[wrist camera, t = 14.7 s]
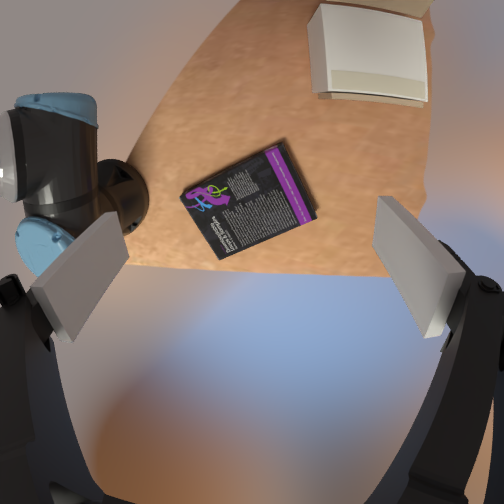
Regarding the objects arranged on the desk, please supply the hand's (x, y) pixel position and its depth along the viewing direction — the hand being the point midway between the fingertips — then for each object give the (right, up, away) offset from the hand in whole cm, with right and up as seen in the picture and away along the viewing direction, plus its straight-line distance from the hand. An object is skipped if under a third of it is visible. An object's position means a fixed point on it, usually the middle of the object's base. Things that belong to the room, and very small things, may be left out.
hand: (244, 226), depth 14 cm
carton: (+16, +29, +22) cm, 40 cm away
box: (0, +8, +36) cm, 37 cm away
